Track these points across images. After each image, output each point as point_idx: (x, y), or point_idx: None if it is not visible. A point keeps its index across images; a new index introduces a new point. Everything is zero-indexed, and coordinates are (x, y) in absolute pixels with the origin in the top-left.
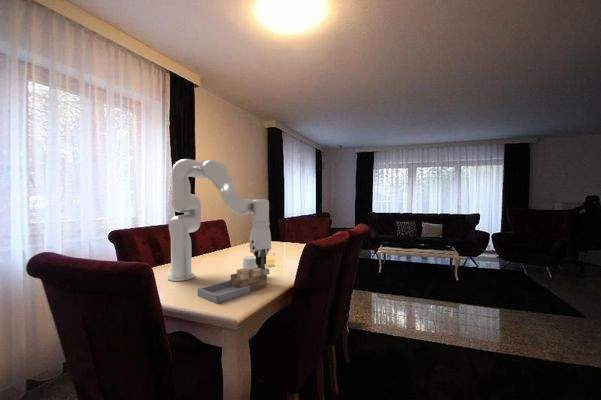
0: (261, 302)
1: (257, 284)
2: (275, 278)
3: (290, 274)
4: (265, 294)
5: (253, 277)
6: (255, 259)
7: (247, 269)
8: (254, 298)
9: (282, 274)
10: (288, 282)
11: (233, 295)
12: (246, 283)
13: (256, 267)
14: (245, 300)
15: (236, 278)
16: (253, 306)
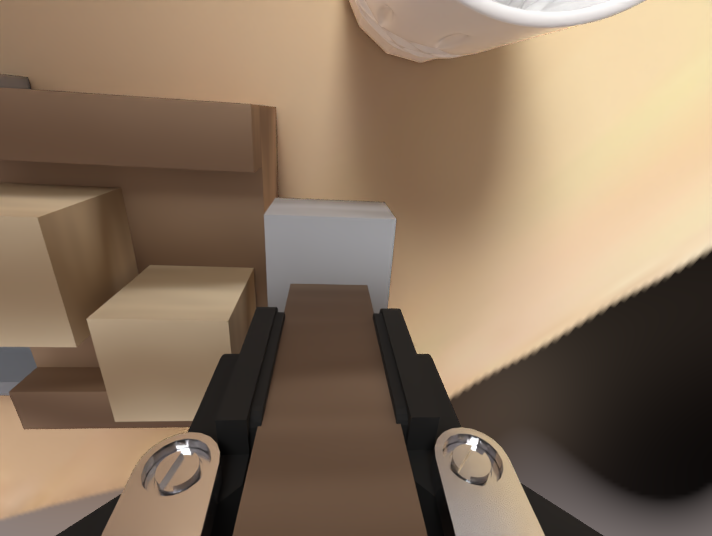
0: (76, 495)
1: None
2: (516, 242)
3: (685, 260)
4: (175, 434)
5: (107, 399)
6: (524, 29)
7: (51, 327)
8: (74, 437)
9: (665, 202)
10: (467, 383)
11: None
12: (44, 363)
13: (335, 219)
14: (5, 426)
15: (3, 170)
16: (6, 504)
